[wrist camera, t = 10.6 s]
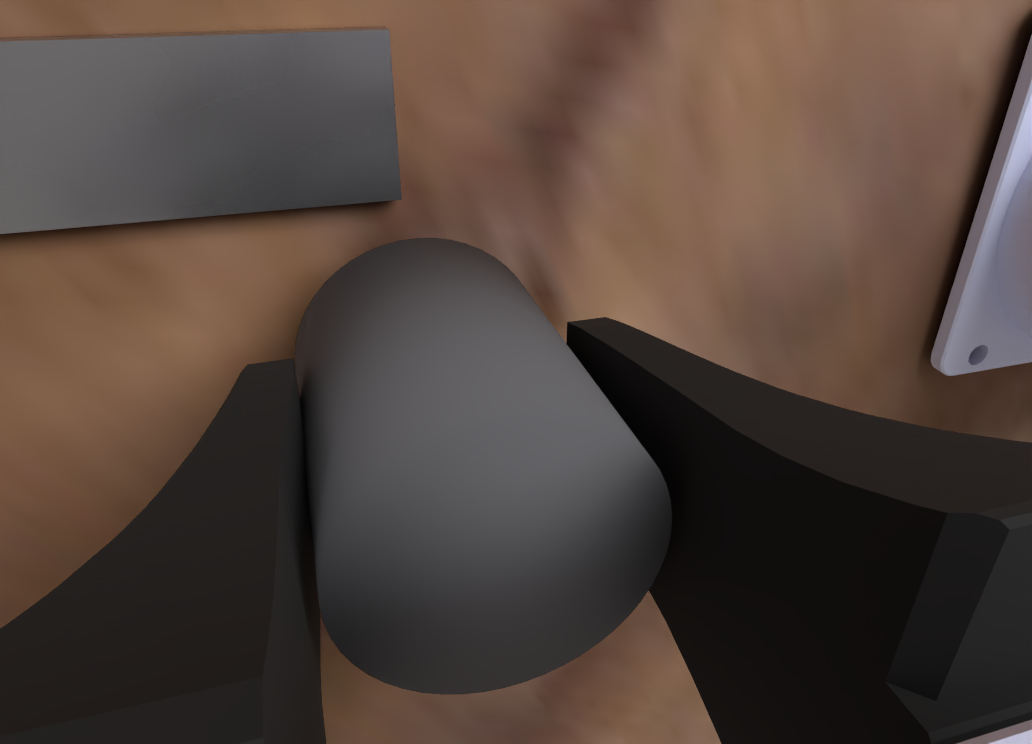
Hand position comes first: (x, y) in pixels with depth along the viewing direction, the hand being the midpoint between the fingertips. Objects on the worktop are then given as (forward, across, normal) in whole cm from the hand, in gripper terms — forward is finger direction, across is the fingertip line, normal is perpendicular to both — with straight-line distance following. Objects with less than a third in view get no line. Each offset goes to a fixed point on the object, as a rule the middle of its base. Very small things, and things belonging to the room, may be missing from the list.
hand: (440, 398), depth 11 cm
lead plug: (+1, 0, 0) cm, 1 cm away
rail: (+3, +6, -4) cm, 7 cm away
